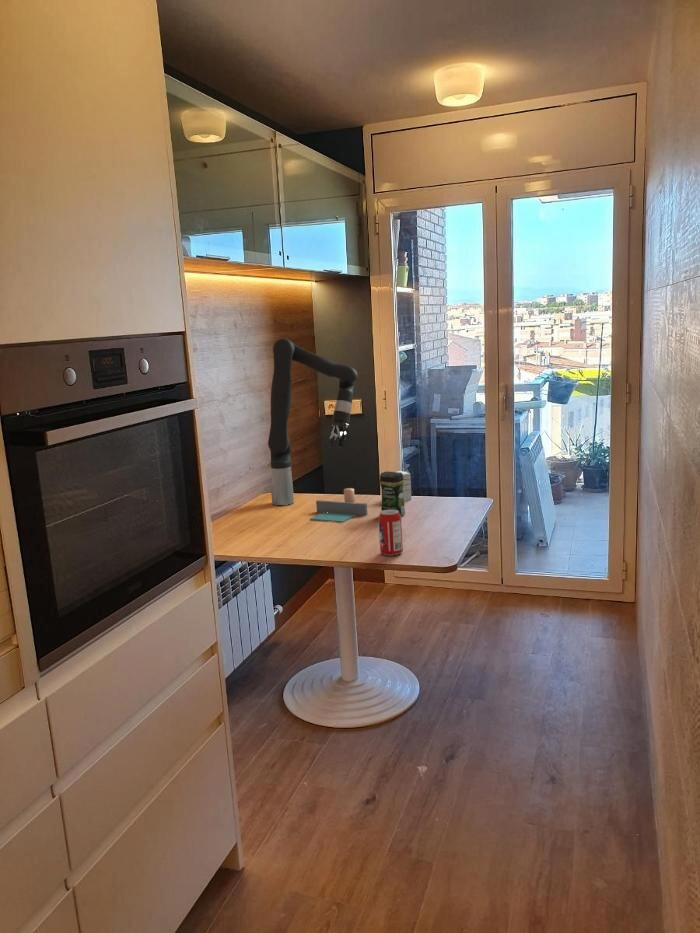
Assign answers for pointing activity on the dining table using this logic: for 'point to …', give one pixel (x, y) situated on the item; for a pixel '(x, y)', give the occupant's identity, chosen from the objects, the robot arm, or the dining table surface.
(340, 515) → the teal mat
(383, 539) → the soda can
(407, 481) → the supplement box
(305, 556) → the dining table surface
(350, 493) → the tan domed capsule
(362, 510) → the low wall
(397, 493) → the coffee jar
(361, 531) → the dining table surface
